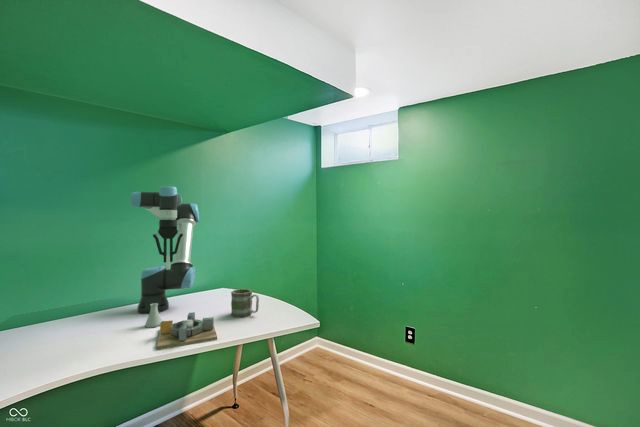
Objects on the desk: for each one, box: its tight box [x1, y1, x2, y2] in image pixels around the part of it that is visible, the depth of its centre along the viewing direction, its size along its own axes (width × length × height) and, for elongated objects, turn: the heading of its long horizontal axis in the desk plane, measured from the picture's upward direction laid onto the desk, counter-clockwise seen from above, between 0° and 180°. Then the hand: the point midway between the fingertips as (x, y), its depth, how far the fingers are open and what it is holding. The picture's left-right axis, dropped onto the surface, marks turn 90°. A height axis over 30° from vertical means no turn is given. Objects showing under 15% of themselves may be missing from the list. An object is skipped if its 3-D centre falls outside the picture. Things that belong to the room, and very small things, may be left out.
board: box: [156, 319, 218, 351], centre depth 129 cm, size 22×22×6 cm
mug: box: [230, 288, 260, 319], centre depth 155 cm, size 16×11×12 cm
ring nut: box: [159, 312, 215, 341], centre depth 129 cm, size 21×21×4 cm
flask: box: [144, 303, 163, 329], centre depth 140 cm, size 7×7×10 cm
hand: (168, 269), depth 140 cm, fingers closed
